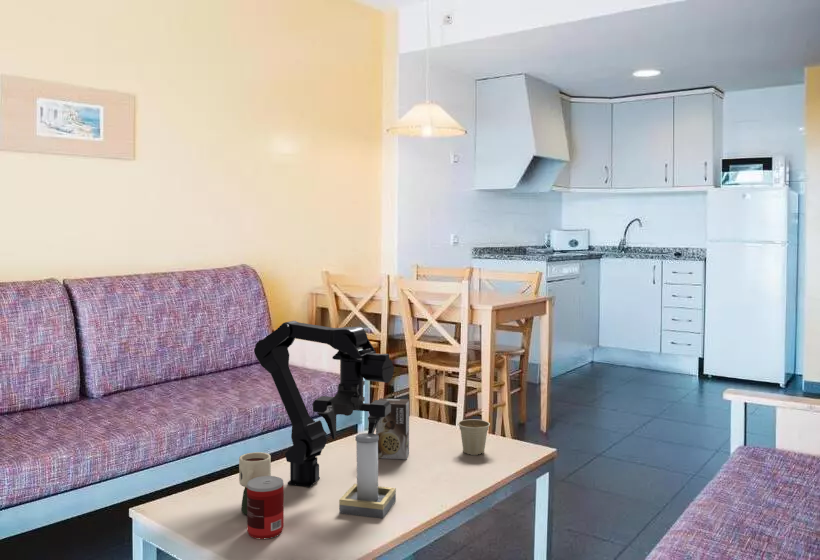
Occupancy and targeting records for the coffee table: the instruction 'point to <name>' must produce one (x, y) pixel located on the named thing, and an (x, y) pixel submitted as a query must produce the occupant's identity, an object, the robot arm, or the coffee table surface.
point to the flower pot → (473, 435)
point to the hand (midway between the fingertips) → (351, 440)
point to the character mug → (252, 471)
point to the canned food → (265, 507)
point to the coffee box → (394, 431)
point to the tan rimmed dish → (367, 503)
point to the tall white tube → (367, 466)
